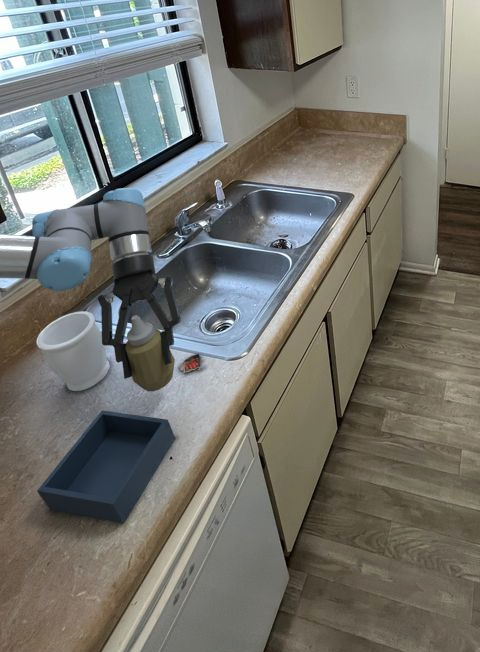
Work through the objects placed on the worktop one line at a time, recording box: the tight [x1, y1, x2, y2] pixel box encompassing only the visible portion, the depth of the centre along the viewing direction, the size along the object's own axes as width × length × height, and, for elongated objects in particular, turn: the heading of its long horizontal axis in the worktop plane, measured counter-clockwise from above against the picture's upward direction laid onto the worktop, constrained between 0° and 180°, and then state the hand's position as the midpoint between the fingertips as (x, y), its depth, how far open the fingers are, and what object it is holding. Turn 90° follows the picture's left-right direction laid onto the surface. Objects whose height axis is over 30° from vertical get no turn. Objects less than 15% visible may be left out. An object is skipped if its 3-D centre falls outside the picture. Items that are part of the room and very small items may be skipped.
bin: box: [36, 409, 176, 525], centre depth 81 cm, size 15×15×6 cm
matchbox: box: [179, 353, 202, 374], centre depth 103 cm, size 5×5×1 cm
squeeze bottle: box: [125, 314, 176, 392], centre depth 89 cm, size 8×8×18 cm
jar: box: [36, 310, 111, 392], centre depth 98 cm, size 11×10×15 cm
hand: (148, 370), depth 87 cm, fingers closed on squeeze bottle, 6 cm apart
